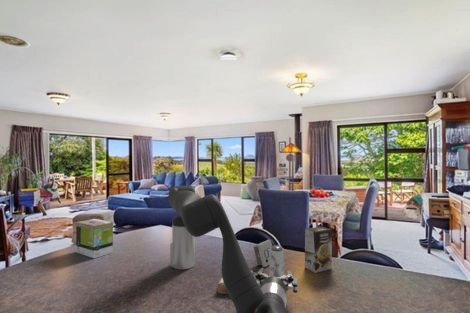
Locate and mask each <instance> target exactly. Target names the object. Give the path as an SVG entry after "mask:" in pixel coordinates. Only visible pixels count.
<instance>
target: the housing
mask: <svg viewBox="0 0 470 313" xmlns="http://www.w3.org/2000/svg"><path fill="white" fill-rule="evenodd" d="M283 275H285V249H284V248H283V246H281V245H278V244H277V245H272V247H271V248H270V264H269V276H275V277H281V276H283Z"/></svg>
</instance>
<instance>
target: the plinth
mask: <svg viewBox="0 0 470 313" xmlns="http://www.w3.org/2000/svg"><path fill="white" fill-rule="evenodd" d="M250 270H251V272H254V271H253V270H252V269H250ZM217 294H226V295H229V293H228V291H227V289H226V287H225V285H224V282H223V278H222V276H221V278H220V279H219V281H218V282H217Z"/></svg>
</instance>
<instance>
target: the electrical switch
mask: <svg viewBox="0 0 470 313" xmlns="http://www.w3.org/2000/svg"><path fill="white" fill-rule="evenodd" d="M272 246H273V244H272V241H271V239H267V240H265V241H262V242H260V243H258V244H256V245H254V246H253V250H254V256H255V259H256V263H257V266H261V268H266V267H268V266H270V248H271V247H272Z"/></svg>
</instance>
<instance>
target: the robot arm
mask: <svg viewBox="0 0 470 313" xmlns="http://www.w3.org/2000/svg"><path fill="white" fill-rule="evenodd" d="M167 197H168V199H167V200H168V203H169V206H170V207H171V208H172V209H174V210H175V212H176V213H177V215H175V216H174V217H173V218H172V220H171V222H172V224H171V232H172V233H171V237H172V238H171V242H170V245H169V246H170V247H169V248H170V250H169V251H170V252H169V260H170V262H169V264H170V265H169V266H170V268H174V269H175V270H187V269H188V270H189V269H191V268H194V266H195V264H196V263H195V262H196V260H195V259H196V258H195V256H196V255H195V254H196V249H195V247H196V246H195V244H196V243H195V242H196V241H195V238H199V237H202V236H205V235H206V234H208V233H211V232H213V231H214V230H216V229H219V230H220V233H221V237H222V256H221V277H222V278H223V282H224V285H225V287H226V289H227V291H228V293H229V294H228V295H229V297H230V300H231V301H232V303H233V306H234V308H235V312H236V313H286V305H287V291H288V290H291V291H292V292H293V293H295V294H297V293H298V290H299V289H298V288H299V276H298V275H294V276H293V273H292V271H291V270H290V269H287V273H286V274H287V275H286V274H284V275H283V276H281V277H275V276H270V275H268V274H266V273H265V272H264V270H265V269H264V268H265V267H261V268H260V269H259V270H258V271H257V273H256V272H255V271H253V272H251V270H252V269H251V268H250V267H249V265H248V263H247V261H246V258H245V255H244V254H243V252H242V248H241V246H240V243H239V241H238V239H237V236H236V233H235V232H234V229H233V226H232V225H231V222H230V220H229V217H228V215H227V212H226V211H225V208H224V207H223V205H222V203H221V201H220V199H219V198H218V197H217V196H216V195H215V194H212V193H211V194H210V193H209V194H207V195H205V196H203V197H202V196H200V195H199V194H198V193H196V189H195V187H194V186H193V185H175V186H172V187H171V188H170V189H169V191H168V196H167Z"/></svg>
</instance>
